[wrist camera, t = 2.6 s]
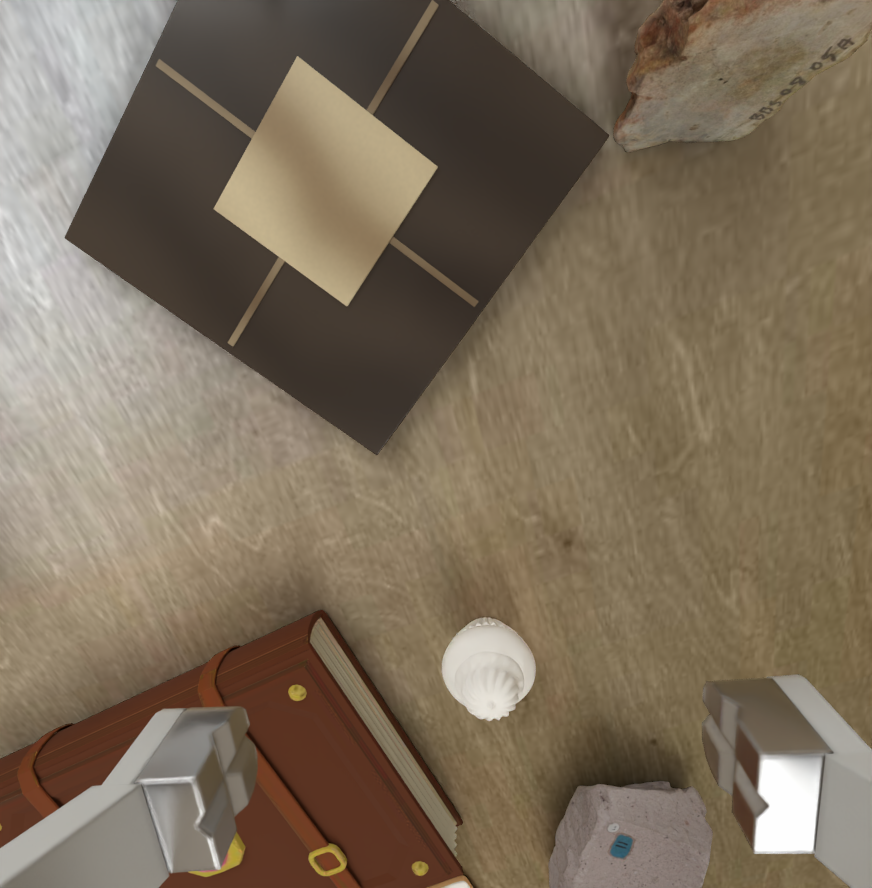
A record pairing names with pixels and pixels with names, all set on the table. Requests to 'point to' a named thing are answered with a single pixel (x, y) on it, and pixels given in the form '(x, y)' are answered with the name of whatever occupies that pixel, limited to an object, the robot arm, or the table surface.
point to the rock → (730, 64)
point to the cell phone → (454, 883)
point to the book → (275, 770)
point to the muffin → (488, 668)
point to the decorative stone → (632, 838)
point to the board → (332, 189)
